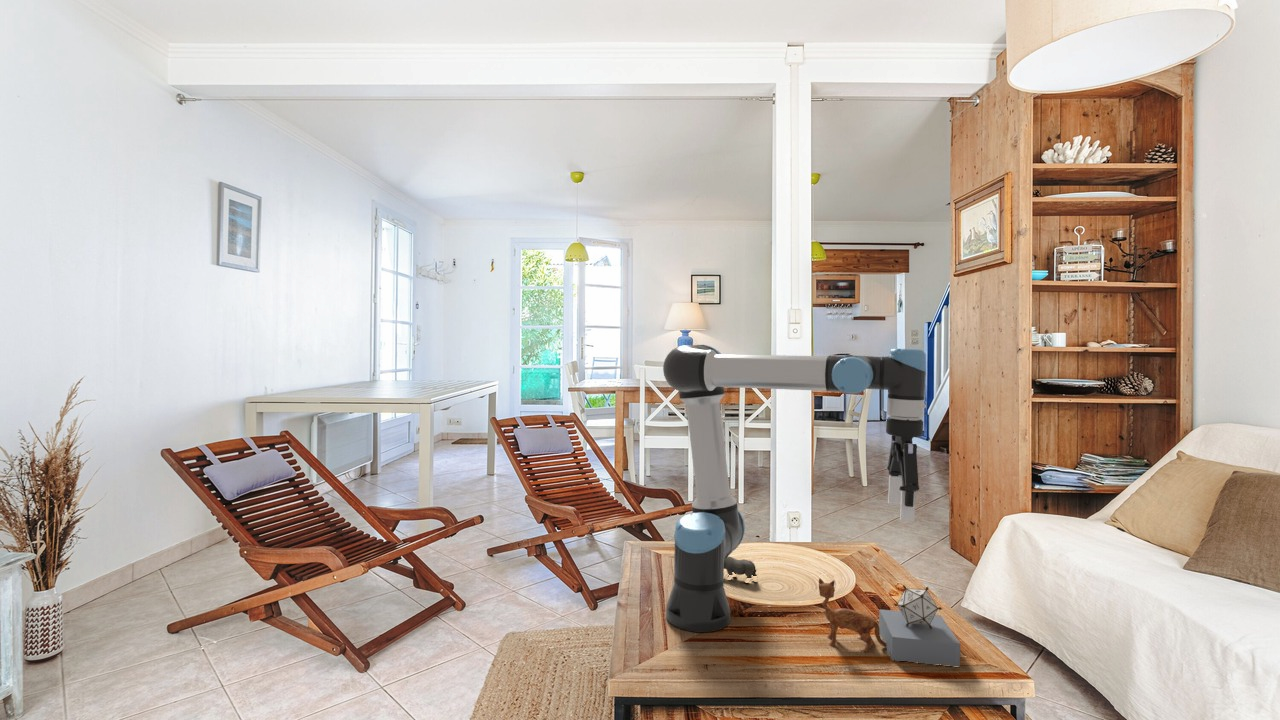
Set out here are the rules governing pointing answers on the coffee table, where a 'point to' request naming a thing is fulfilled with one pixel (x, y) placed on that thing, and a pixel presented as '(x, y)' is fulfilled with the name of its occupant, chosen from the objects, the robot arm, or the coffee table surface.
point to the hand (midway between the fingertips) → (900, 511)
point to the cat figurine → (848, 619)
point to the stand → (918, 640)
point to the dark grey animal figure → (739, 567)
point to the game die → (917, 606)
